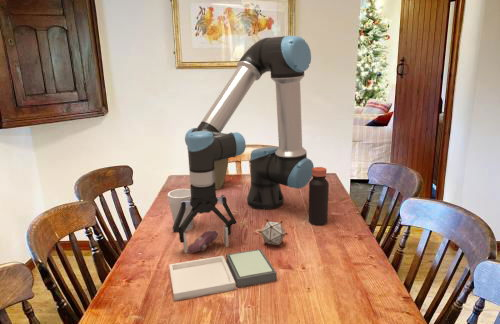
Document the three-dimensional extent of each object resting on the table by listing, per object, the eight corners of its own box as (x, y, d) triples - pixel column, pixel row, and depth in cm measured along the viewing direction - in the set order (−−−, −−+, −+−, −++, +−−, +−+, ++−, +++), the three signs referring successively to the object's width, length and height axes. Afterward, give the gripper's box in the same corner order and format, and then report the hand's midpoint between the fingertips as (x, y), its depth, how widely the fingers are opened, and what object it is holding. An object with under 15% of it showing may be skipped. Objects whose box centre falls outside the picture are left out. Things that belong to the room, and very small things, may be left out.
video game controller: (196, 260, 115) (203, 243, 112) (185, 250, 117) (192, 234, 113) (215, 246, 123) (222, 231, 120) (205, 238, 125) (212, 222, 121)
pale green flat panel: (259, 253, 112) (259, 250, 112) (272, 274, 101) (272, 270, 100) (229, 258, 109) (229, 254, 109) (240, 280, 98) (240, 276, 98)
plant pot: (198, 182, 184) (196, 150, 180) (229, 181, 185) (228, 149, 181) (198, 192, 169) (196, 158, 165) (231, 191, 171) (229, 157, 167)
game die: (278, 252, 123) (296, 228, 122) (271, 255, 115) (290, 230, 114) (257, 235, 125) (274, 211, 124) (249, 237, 118) (268, 212, 117)
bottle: (308, 217, 140) (310, 165, 135) (327, 218, 139) (329, 166, 134) (307, 225, 134) (308, 171, 129) (327, 226, 132) (329, 171, 127)
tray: (223, 261, 111) (223, 255, 110) (235, 289, 97) (235, 282, 97) (169, 270, 107) (169, 264, 106) (174, 300, 93) (173, 293, 92)
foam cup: (191, 234, 129) (189, 198, 125) (166, 232, 131) (163, 197, 127) (200, 222, 138) (198, 189, 134) (176, 221, 140) (174, 188, 136)
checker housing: (260, 256, 113) (260, 248, 113) (276, 280, 101) (276, 272, 100) (226, 262, 110) (226, 254, 110) (238, 287, 98) (237, 279, 97)
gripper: (238, 175, 120) (240, 237, 125) (160, 183, 113) (166, 248, 119) (245, 182, 113) (246, 247, 118) (161, 191, 106) (167, 259, 112)
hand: (206, 248), depth 119 cm, fingers open, 12 cm apart
